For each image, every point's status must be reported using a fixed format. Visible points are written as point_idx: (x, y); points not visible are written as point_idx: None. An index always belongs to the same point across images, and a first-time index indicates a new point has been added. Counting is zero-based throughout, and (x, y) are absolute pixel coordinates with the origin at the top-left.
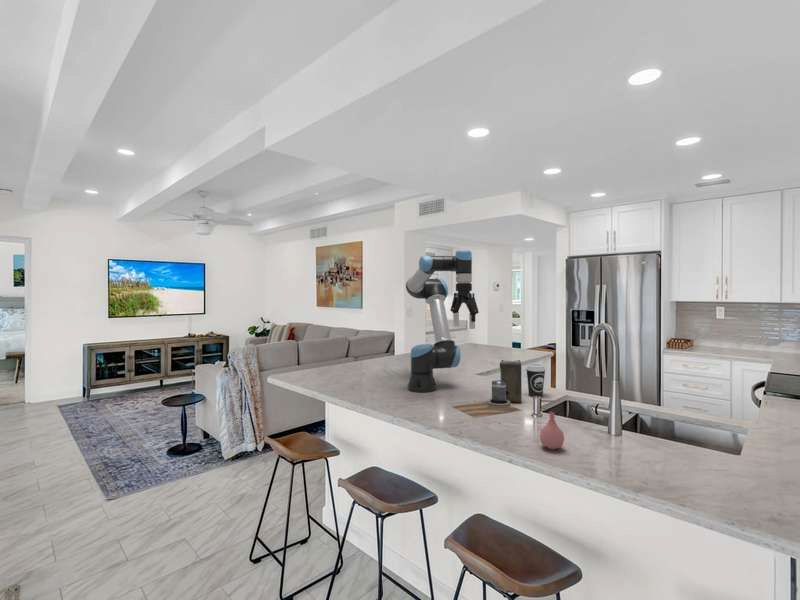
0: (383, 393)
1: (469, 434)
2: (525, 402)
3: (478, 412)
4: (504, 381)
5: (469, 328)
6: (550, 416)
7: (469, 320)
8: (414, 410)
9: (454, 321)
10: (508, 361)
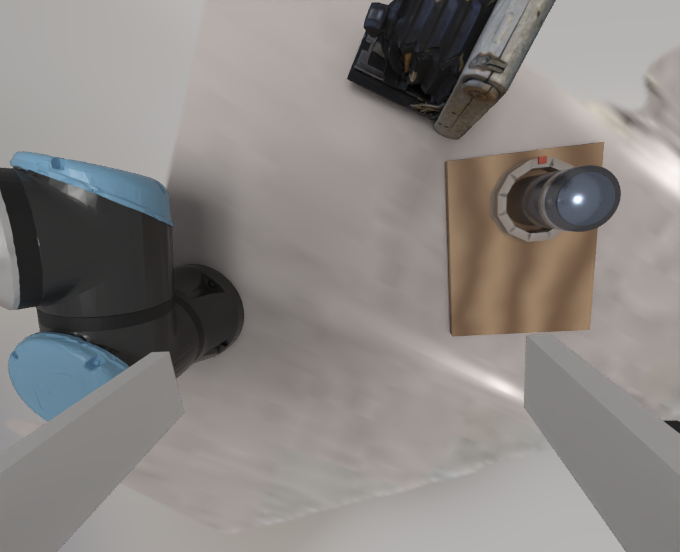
0: (220, 426)
1: (661, 387)
2: None
3: (547, 293)
4: (602, 174)
5: (531, 410)
6: None
7: (608, 514)
8: (410, 419)
9: (138, 458)
10: (526, 31)
